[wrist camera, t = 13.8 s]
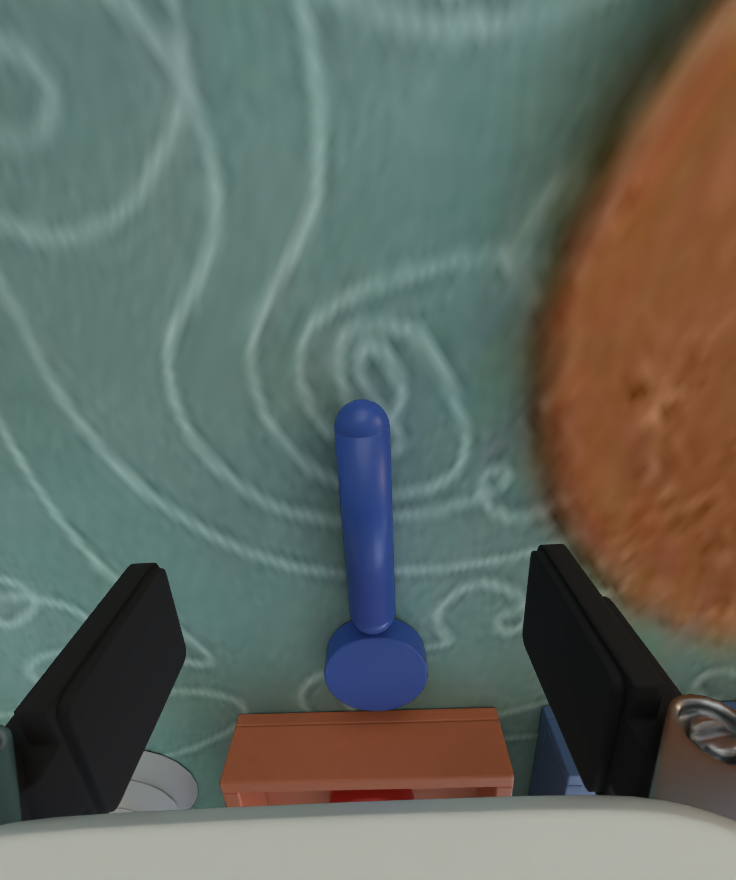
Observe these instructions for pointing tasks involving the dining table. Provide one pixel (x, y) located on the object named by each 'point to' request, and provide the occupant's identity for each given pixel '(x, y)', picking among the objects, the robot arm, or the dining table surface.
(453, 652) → the dining table surface
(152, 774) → the chalice
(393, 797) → the red spoon
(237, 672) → the dining table surface
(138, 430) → the dining table surface
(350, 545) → the blue spoon
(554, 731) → the blue tray
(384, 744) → the terracotta tray
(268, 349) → the dining table surface
